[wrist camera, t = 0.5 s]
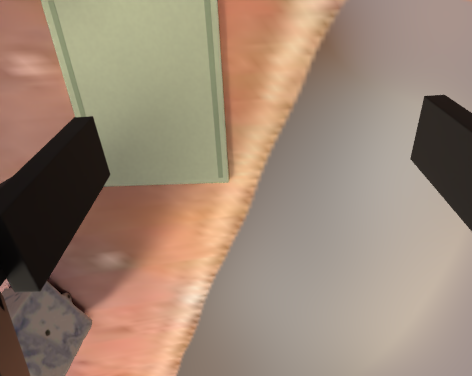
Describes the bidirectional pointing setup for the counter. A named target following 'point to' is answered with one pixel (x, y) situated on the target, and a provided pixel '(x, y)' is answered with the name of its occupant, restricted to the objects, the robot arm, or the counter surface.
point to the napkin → (146, 85)
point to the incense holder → (47, 328)
